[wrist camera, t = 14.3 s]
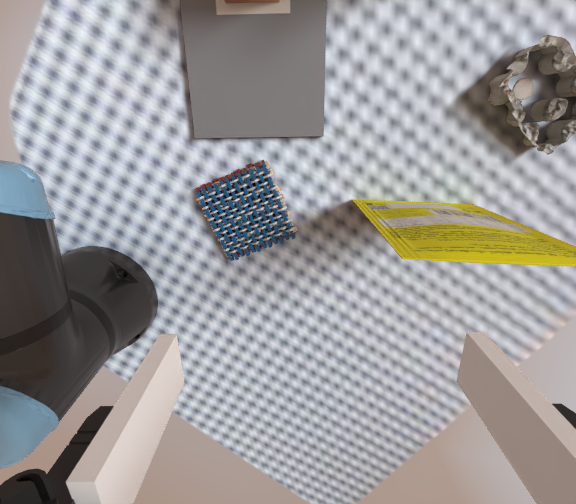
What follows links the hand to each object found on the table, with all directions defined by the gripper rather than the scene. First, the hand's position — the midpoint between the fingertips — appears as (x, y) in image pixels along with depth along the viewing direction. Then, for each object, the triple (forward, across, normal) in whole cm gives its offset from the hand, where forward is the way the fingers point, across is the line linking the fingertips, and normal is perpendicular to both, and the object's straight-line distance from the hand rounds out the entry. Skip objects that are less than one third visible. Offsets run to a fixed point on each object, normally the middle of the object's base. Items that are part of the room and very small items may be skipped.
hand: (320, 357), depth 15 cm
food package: (+29, +14, +1) cm, 32 cm away
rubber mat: (+29, -5, +21) cm, 36 cm away
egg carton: (+29, +26, +13) cm, 41 cm away
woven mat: (+29, -7, 0) cm, 30 cm away
